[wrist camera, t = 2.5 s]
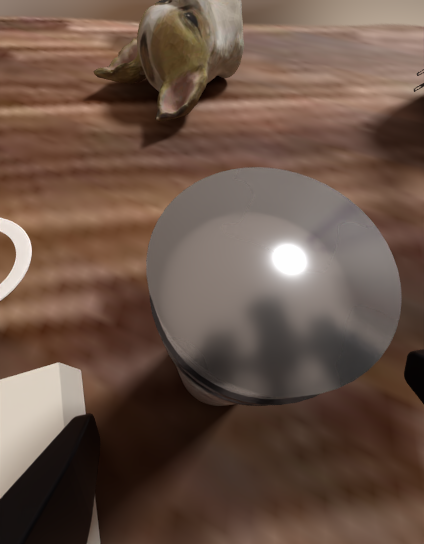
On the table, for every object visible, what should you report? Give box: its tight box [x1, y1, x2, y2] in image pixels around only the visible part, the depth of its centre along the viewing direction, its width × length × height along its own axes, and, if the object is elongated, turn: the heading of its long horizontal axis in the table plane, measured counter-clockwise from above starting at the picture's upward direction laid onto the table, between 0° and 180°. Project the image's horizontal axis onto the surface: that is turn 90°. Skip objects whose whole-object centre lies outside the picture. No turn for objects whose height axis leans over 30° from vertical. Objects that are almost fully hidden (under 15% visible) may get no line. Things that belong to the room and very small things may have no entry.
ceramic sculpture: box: [94, 0, 244, 121], centre depth 26 cm, size 11×9×15 cm
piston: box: [146, 167, 401, 406], centre depth 11 cm, size 5×5×13 cm
